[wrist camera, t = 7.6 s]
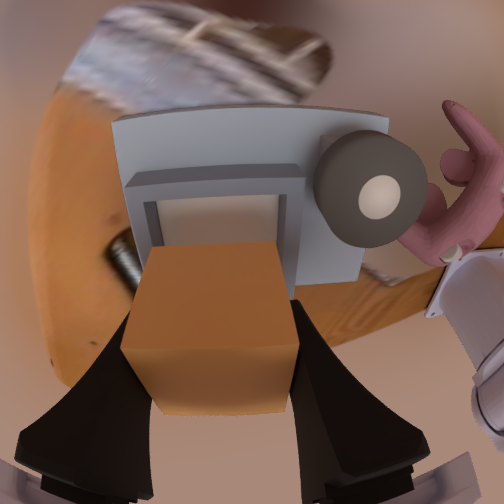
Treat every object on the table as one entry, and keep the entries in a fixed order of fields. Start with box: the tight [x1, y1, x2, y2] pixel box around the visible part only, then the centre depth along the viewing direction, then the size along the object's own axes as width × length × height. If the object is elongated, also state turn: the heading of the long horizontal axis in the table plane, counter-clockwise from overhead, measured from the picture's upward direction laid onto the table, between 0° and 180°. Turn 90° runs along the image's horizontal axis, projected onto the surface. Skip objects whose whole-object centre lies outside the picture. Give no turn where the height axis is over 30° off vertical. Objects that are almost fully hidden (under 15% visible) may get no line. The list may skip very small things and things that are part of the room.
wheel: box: [313, 130, 427, 248], centre depth 12 cm, size 5×5×4 cm
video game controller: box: [397, 100, 504, 267], centre depth 14 cm, size 10×5×7 cm, turn 147°
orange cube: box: [120, 241, 300, 416], centre depth 11 cm, size 5×5×5 cm
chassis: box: [111, 104, 389, 300], centre depth 15 cm, size 14×11×4 cm
